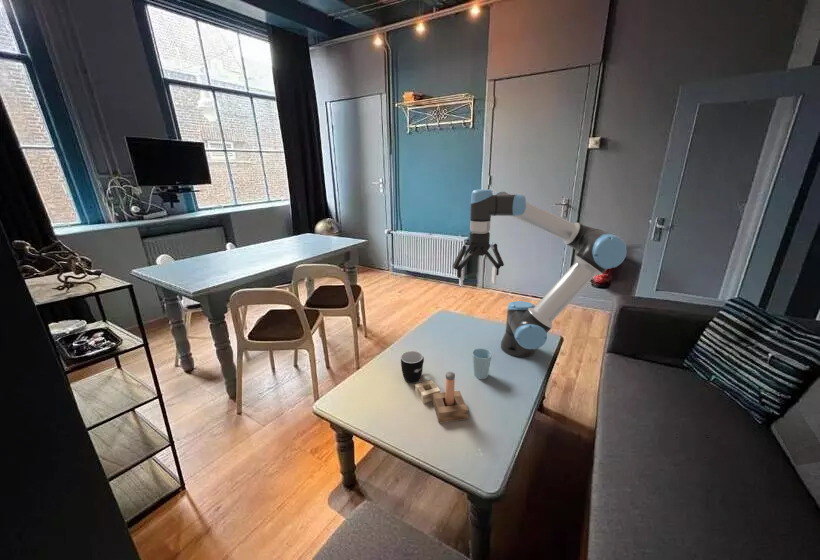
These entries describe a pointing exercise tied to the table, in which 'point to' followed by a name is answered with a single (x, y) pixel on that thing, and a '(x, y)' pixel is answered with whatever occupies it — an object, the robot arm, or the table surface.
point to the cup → (481, 362)
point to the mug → (412, 366)
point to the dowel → (449, 389)
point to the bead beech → (426, 391)
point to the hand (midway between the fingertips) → (477, 284)
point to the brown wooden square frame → (450, 408)
